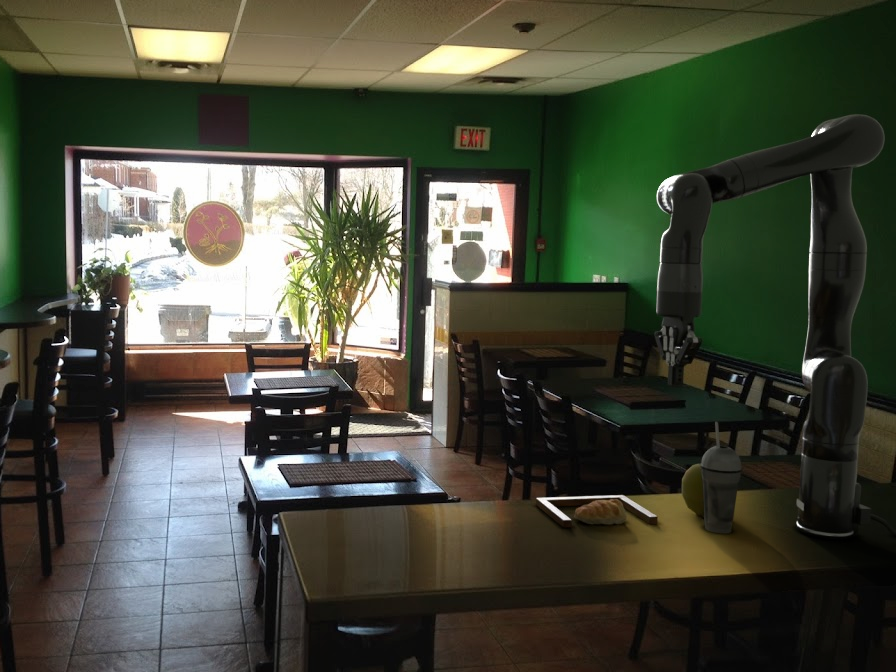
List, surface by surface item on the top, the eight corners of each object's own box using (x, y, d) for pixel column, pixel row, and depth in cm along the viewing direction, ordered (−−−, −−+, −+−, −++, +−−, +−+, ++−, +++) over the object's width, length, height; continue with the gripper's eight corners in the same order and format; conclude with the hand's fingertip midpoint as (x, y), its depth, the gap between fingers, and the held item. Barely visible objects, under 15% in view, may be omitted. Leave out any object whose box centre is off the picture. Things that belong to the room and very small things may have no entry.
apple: (735, 524, 168) (739, 467, 167) (681, 519, 170) (684, 462, 169) (731, 509, 177) (733, 455, 176) (679, 504, 180) (682, 451, 179)
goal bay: (622, 501, 181) (623, 494, 181) (657, 523, 167) (657, 516, 167) (535, 504, 178) (535, 497, 178) (563, 527, 164) (563, 520, 164)
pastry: (585, 527, 164) (586, 507, 163) (566, 517, 170) (567, 497, 170) (629, 523, 167) (630, 503, 166) (609, 513, 173) (610, 494, 173)
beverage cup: (742, 537, 160) (748, 427, 159) (700, 533, 162) (705, 424, 160) (735, 525, 167) (740, 419, 166) (694, 521, 169) (699, 417, 167)
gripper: (719, 291, 151) (714, 392, 152) (680, 287, 164) (675, 381, 165) (679, 290, 150) (674, 393, 151) (642, 287, 163) (638, 381, 164)
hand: (675, 386), depth 158 cm, fingers closed
